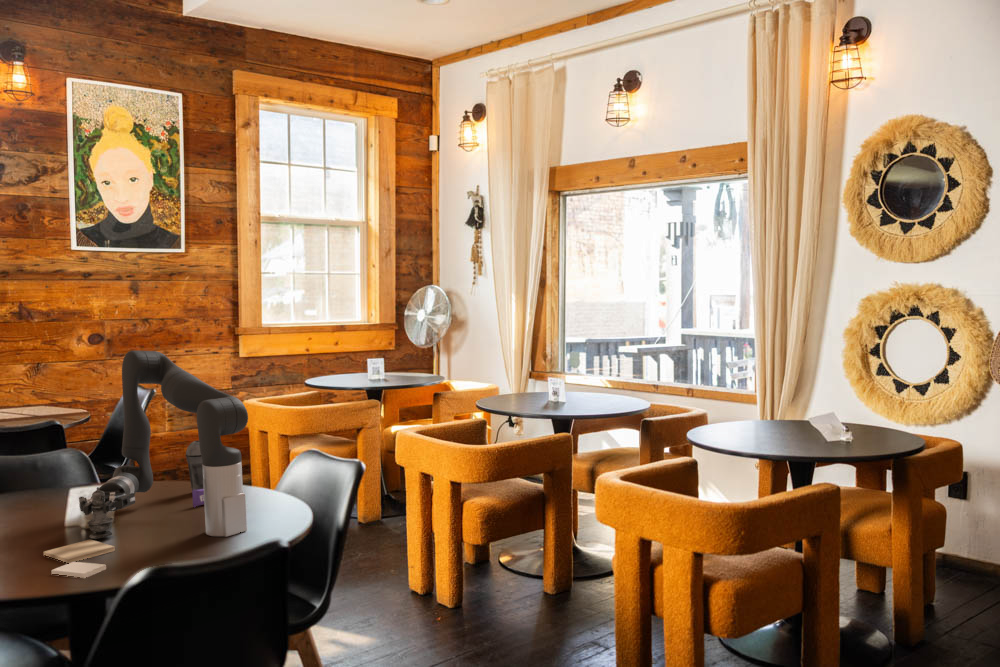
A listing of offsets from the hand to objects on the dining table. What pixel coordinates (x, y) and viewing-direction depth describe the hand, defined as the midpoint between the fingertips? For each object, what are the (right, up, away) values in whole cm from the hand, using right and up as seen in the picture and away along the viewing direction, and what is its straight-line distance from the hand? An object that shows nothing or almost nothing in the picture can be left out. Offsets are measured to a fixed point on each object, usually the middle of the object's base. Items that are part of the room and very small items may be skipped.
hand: (95, 509), depth 209 cm
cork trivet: (0, -8, -8) cm, 12 cm away
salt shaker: (0, -7, +3) cm, 8 cm away
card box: (+6, -10, -21) cm, 24 cm away
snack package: (+16, -6, +36) cm, 40 cm away
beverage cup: (+8, -5, +49) cm, 50 cm away
